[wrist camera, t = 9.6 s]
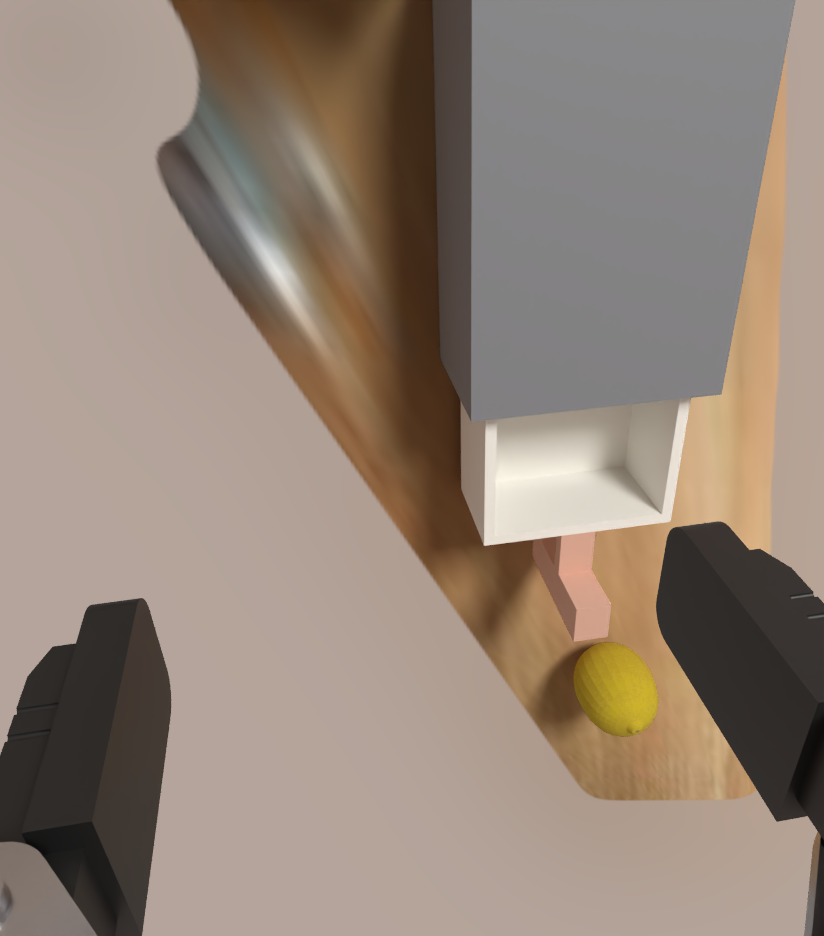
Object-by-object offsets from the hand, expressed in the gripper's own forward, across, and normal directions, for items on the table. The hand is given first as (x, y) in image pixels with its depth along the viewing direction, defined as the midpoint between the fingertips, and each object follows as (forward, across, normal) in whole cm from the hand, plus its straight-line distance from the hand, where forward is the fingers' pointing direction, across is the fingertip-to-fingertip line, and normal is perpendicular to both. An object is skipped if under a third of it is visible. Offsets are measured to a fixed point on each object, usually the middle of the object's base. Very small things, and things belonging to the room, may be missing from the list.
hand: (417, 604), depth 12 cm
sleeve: (+32, -13, 0) cm, 34 cm away
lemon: (+31, -18, +35) cm, 50 cm away
